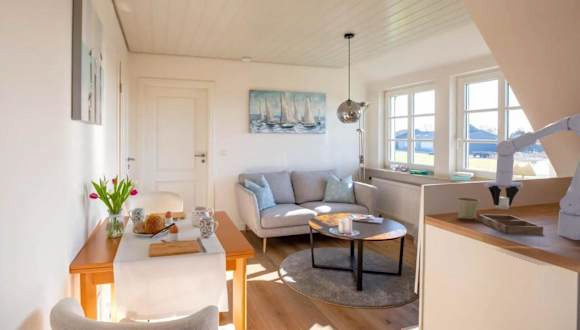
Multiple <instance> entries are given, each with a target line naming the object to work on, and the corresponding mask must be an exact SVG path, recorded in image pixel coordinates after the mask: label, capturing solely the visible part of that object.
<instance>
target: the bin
mask: <svg viewBox="0 0 580 330" xmlns="http://www.w3.org/2000/svg"><path fill="white" fill-rule="evenodd" d="M477 222H479V223H481V224H483V225H486V226H488V227H490V228H492V229H495V230H497V231H499V232H501V233H504V234H506V235H543V234H544V226H541V225H539V224H536V223H533V222H530V221H528V220H525V219H522V218H519V217H517V216H515V215H512V214H488V213H487V214H483V213H482V214H481V213H478V214H477Z"/></svg>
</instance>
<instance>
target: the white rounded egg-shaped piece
mask: <svg viewBox="0 0 580 330" xmlns="http://www.w3.org/2000/svg"><path fill="white" fill-rule="evenodd" d="M509 207H510V206H509V198H508V197H506V196H499V204H498V205H495V208H496V209H498V210H505V211H506V210H509Z"/></svg>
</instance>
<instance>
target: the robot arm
mask: <svg viewBox="0 0 580 330" xmlns="http://www.w3.org/2000/svg"><path fill="white" fill-rule="evenodd" d="M558 132H574V133H575V134H577V135H579V136H580V113H577V114H574V115H572V116H567V117H564V118H561V119H559V120H557V121H555V122H553V123H550V124H548V125H546V126H544V127H542V128H540V129H538V130H536V131H534V132H533V131H532V132H531V131H521V132H520V134H518V135H515V136H513V137H508V138H507V140H502V141H501V140H500V142H499V143H497V145H496V148H495V150H496V153H497V159H496V160H497V161H496V170H495V171H496V174H495V181H484V183H483V187H485V188H488V190H489V191H490V194H491V198H492V201H493V205H494V206H496V205H498V204H499V197H501V191H502V188H505V197H508V198H509V207H510V206H511V207H512V203H513V200H514V199H515V196H516V195H517V193H519V189H521V188H522V189H523V188H524V183H523V182H520V181H519V182H518V181H517V182H516V181H513V177H514V176H513V175H514V164H515V163H514V160H515V159H514V158H515V157H514V156H515V153H517V152H520V151H523V150H525V149H527V148H530V147H533V146H536V143H537V141H538V140H541V139H543V138H546V137H549V136H551V135H554V134H556V133H558ZM559 207H560V210H559V213H558V226H557V235H558V236H560V237H565V238H567V239H570V240H574V241H578V240H579V241H580V158H579V160H578V162H577V165H576V168H575V170H574V174H573V176H572V180H571V182H570V185H569V187H568V189H567V191H566V193H565V196H564V197H562V198H561V199H560V201H559Z"/></svg>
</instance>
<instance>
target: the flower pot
mask: <svg viewBox="0 0 580 330" xmlns="http://www.w3.org/2000/svg"><path fill="white" fill-rule="evenodd" d="M455 198H456V203H457V210H458V211H457V212H458V218H459V219H469V220H473V219H476V218H475V217H476V213H477V210H478V206H479V203H480V202H481V200H480V199H477V198H471V197H455Z"/></svg>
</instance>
